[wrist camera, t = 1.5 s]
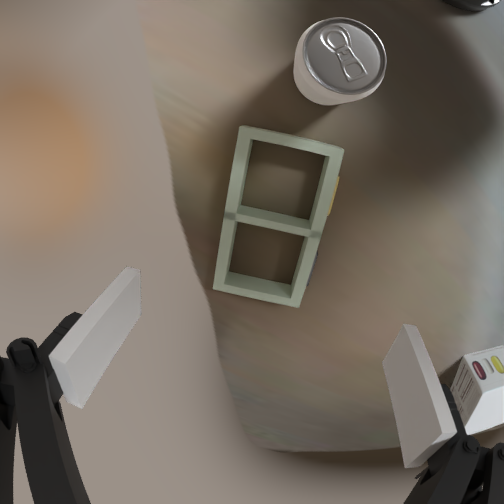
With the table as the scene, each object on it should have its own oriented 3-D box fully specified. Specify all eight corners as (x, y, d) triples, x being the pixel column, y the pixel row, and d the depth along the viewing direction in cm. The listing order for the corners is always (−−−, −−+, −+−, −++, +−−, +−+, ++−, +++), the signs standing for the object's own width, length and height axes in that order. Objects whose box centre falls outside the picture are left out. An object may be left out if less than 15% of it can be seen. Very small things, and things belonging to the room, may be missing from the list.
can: (337, 37, 25) (363, 0, 14) (367, 91, 27) (408, 82, 16) (281, 61, 27) (277, 32, 16) (311, 115, 29) (325, 116, 18)
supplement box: (531, 334, 37) (554, 366, 29) (509, 382, 42) (525, 415, 34) (462, 353, 40) (482, 394, 32) (443, 402, 45) (456, 441, 37)
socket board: (342, 147, 30) (347, 150, 27) (300, 294, 38) (301, 308, 35) (244, 125, 30) (239, 126, 28) (218, 276, 38) (212, 289, 35)
